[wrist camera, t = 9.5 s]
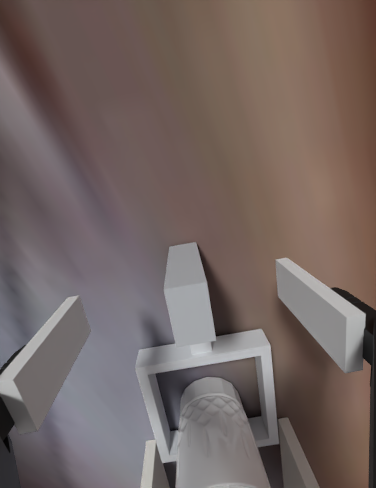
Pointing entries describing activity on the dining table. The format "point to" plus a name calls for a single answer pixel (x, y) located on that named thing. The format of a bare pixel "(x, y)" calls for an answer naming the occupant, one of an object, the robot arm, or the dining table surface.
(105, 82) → the dining table surface
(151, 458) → the tunnel
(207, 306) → the square frame with handle
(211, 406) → the white cup
